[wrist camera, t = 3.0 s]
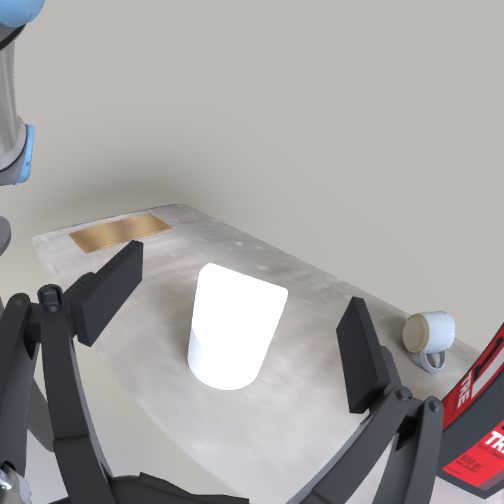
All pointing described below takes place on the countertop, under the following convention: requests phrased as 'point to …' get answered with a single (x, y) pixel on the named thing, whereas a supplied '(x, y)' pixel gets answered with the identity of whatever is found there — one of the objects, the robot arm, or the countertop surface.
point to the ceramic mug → (429, 336)
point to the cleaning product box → (476, 425)
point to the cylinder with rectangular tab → (232, 326)
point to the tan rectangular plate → (118, 232)
